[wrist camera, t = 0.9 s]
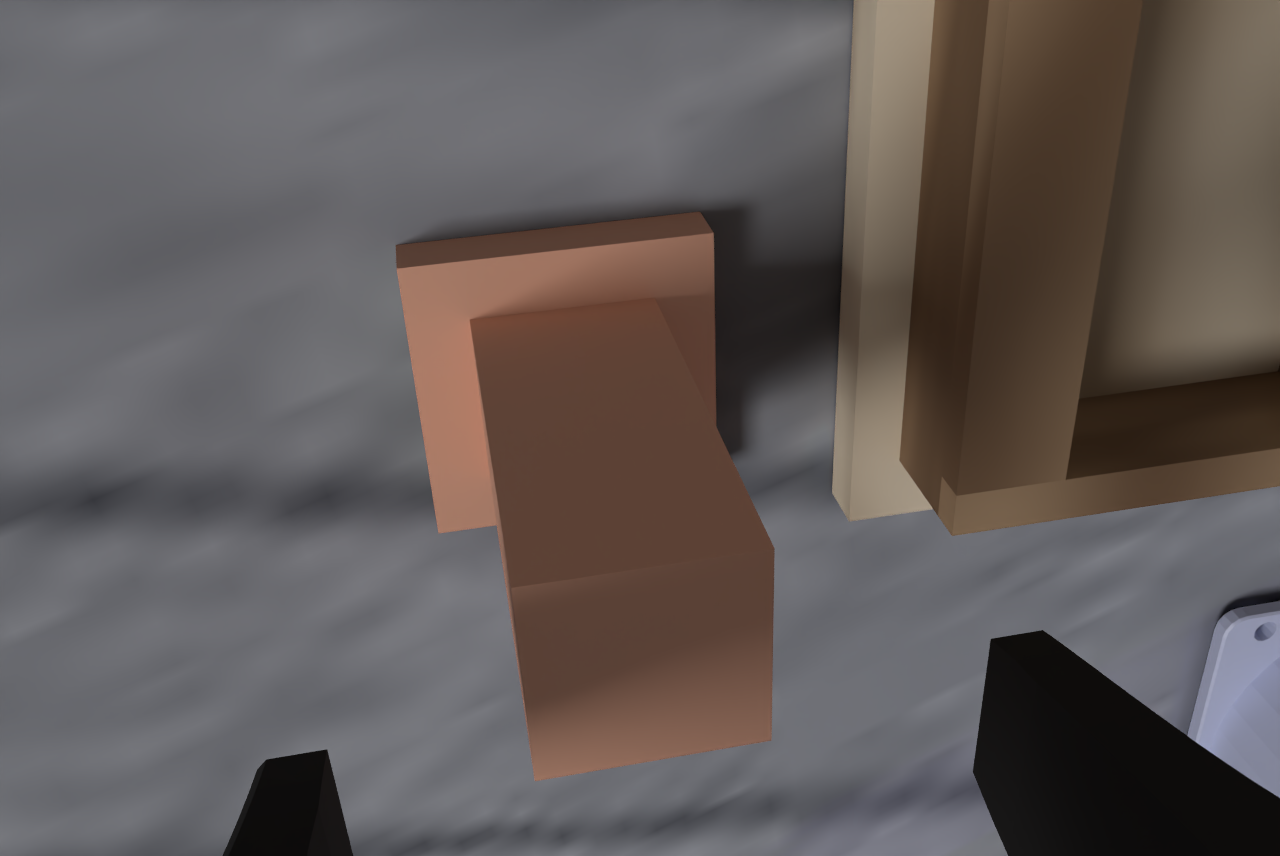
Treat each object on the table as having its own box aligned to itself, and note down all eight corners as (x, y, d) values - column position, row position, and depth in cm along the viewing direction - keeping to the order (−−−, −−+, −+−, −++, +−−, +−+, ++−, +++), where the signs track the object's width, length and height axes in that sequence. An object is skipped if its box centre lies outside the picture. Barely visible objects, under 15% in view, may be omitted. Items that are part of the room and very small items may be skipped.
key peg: (699, 211, 20) (862, 462, 13) (704, 464, 23) (844, 783, 16) (395, 244, 20) (406, 527, 13) (436, 501, 22) (462, 851, 15)
